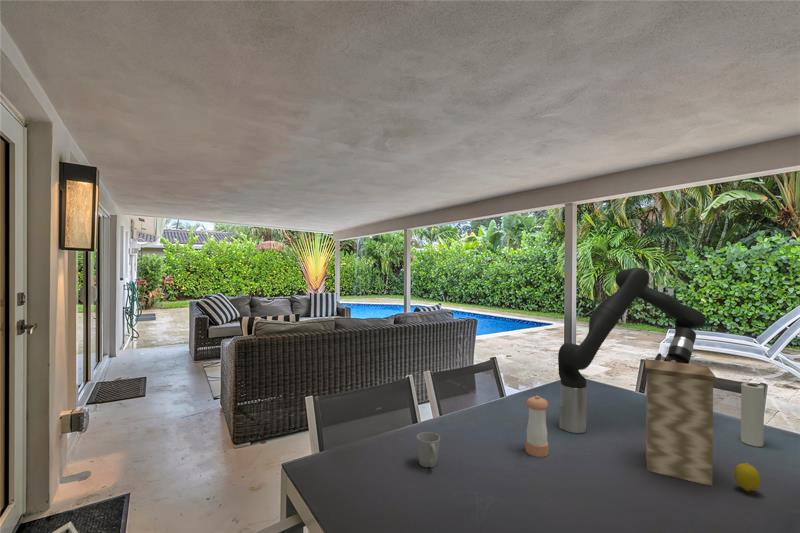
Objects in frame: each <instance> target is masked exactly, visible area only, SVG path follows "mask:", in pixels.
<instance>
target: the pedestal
mask: <svg viewBox="0 0 800 533" xmlns="http://www.w3.org/2000/svg"><path fill="white" fill-rule="evenodd" d="M644 366H645V374H646V380H645V381H646V396H645V397H646V398H645V404H646V405H645V414H646V415H645V460H646V470H647V471H648V472H652V473H657V474H660V475H665V476H667V477H673V478H676V479H681V480H686V481H688V482H689V481H690V482H694V483H697V484H702V485H706V486H710V487H713V459H714V458H713V456H714V455H713V454H714V450H713V448H714V445H713V444H714V441H713V439H714V437H713V436H714V431H713V430H714V383H716V382H717V380H716V378H717V377H716V375H715V374H714V373H713V371H712V370H711V369H710V367H709V366H708V365H701V364H694V363H689V364H685V363H676V362H667V361H664V360H661V361H658V360H655V359H648V358H644Z"/></svg>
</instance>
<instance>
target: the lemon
mask: <svg viewBox="0 0 800 533" xmlns="http://www.w3.org/2000/svg"><path fill="white" fill-rule="evenodd" d="M733 475H734V476H733V477H734V480H735V482H736V483H737V485H738V486H739V487H740V488H741V489H743V490H744V491H745V492H749V493H750V492H752V491H755V490H758V489H759V488H760V485H761V476H760V473H759V471H758V470H757V468H755V467H754V466H753V465H751V464H750V463H748V462H744V463H739V464H737V465H736V466H735V468H734V472H733Z"/></svg>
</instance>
